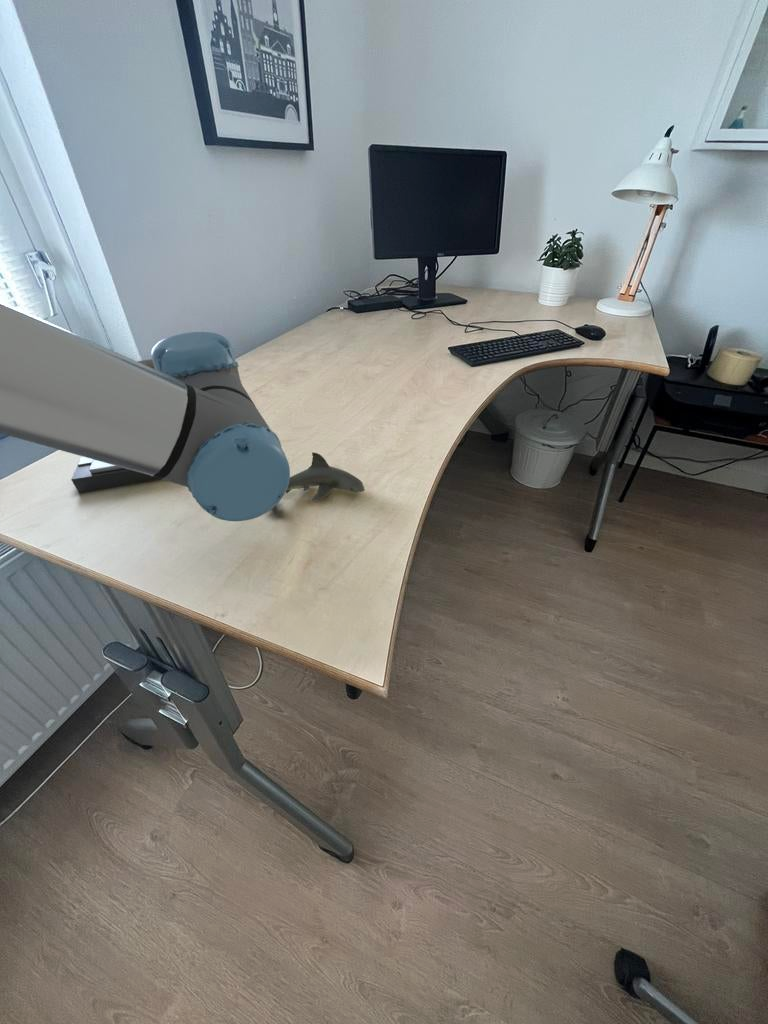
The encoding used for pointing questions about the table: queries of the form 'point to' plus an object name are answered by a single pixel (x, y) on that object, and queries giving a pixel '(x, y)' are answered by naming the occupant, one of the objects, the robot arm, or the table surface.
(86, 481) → the scale
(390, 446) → the table surface
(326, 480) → the shark figurine
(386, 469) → the table surface
